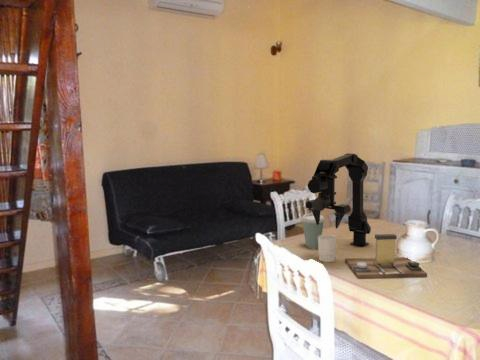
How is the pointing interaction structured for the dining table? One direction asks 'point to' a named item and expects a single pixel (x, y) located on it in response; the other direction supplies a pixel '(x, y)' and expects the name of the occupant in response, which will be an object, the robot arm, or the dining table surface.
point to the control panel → (385, 269)
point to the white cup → (327, 247)
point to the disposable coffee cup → (312, 229)
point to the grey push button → (362, 265)
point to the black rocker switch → (413, 263)
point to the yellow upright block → (385, 250)
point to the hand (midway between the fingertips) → (327, 226)
